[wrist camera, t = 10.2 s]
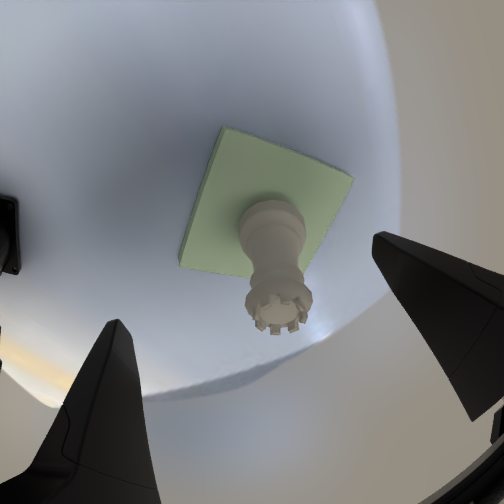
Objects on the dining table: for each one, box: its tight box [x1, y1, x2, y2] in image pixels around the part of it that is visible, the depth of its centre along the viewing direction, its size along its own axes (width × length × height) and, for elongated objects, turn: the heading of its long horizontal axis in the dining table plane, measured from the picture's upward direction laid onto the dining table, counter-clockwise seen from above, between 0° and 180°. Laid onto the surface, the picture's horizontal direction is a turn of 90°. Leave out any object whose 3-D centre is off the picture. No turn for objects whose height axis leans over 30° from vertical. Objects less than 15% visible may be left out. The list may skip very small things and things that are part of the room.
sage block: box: [178, 126, 355, 278], centre depth 20 cm, size 10×10×2 cm
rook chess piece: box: [238, 200, 313, 335], centre depth 16 cm, size 4×4×8 cm
